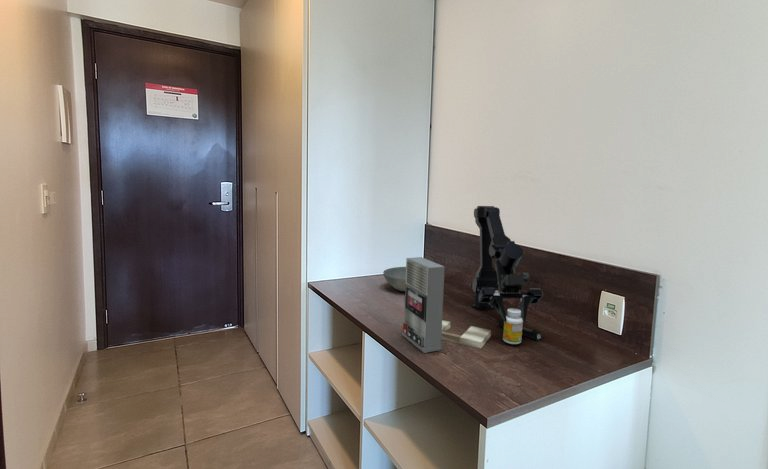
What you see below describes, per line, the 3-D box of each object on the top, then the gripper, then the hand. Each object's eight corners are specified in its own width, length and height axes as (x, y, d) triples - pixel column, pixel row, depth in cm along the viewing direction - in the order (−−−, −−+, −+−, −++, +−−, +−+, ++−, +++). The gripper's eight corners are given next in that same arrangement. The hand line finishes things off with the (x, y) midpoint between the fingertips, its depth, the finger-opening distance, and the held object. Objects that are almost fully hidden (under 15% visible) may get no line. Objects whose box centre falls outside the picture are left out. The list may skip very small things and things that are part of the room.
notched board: (440, 325, 139) (440, 319, 139) (490, 336, 131) (491, 330, 130) (427, 336, 129) (427, 330, 129) (480, 348, 121) (481, 342, 121)
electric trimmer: (502, 325, 142) (502, 316, 141) (543, 339, 129) (544, 330, 129) (495, 327, 139) (495, 318, 139) (536, 342, 127) (537, 333, 127)
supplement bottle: (500, 337, 128) (502, 307, 126) (516, 337, 128) (519, 307, 127) (506, 344, 122) (508, 313, 121) (524, 344, 123) (526, 313, 121)
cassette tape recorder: (401, 336, 129) (403, 258, 125) (418, 333, 132) (421, 257, 128) (423, 354, 117) (426, 268, 113) (441, 350, 119) (445, 266, 115)
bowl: (432, 297, 171) (433, 278, 169) (382, 295, 171) (382, 277, 170) (428, 283, 192) (428, 266, 190) (383, 282, 192) (383, 265, 191)
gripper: (483, 261, 125) (490, 309, 116) (543, 263, 125) (555, 310, 116) (475, 279, 134) (481, 324, 125) (532, 280, 134) (542, 325, 125)
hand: (515, 321), depth 123 cm, fingers closed on supplement bottle, 5 cm apart
